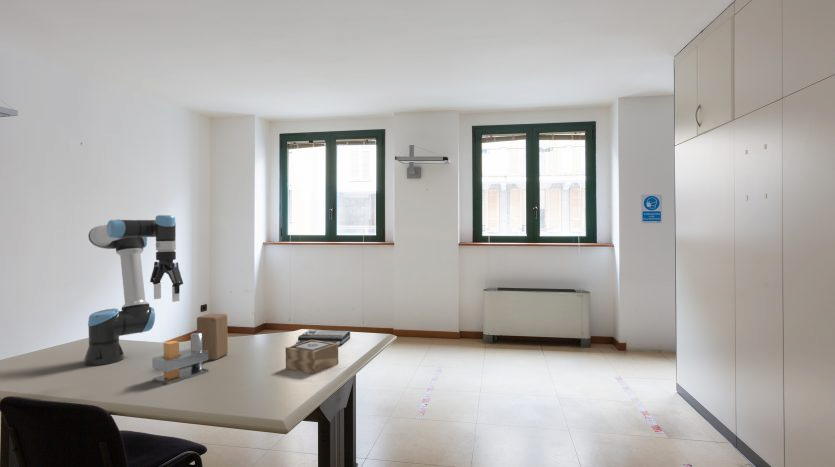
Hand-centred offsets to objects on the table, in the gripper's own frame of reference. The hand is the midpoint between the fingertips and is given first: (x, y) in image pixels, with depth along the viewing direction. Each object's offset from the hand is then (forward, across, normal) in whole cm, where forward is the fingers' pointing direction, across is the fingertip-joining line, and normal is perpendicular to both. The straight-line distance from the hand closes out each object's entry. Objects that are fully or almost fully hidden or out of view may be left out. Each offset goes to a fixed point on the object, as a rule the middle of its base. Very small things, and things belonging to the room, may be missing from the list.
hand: (166, 300), depth 196 cm
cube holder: (+30, +52, +34) cm, 69 cm away
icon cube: (+30, +54, +32) cm, 70 cm away
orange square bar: (+29, +13, -6) cm, 33 cm away
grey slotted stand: (+30, +13, -2) cm, 33 cm away
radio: (+31, +27, +69) cm, 80 cm away
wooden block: (+31, 0, +22) cm, 38 cm away
